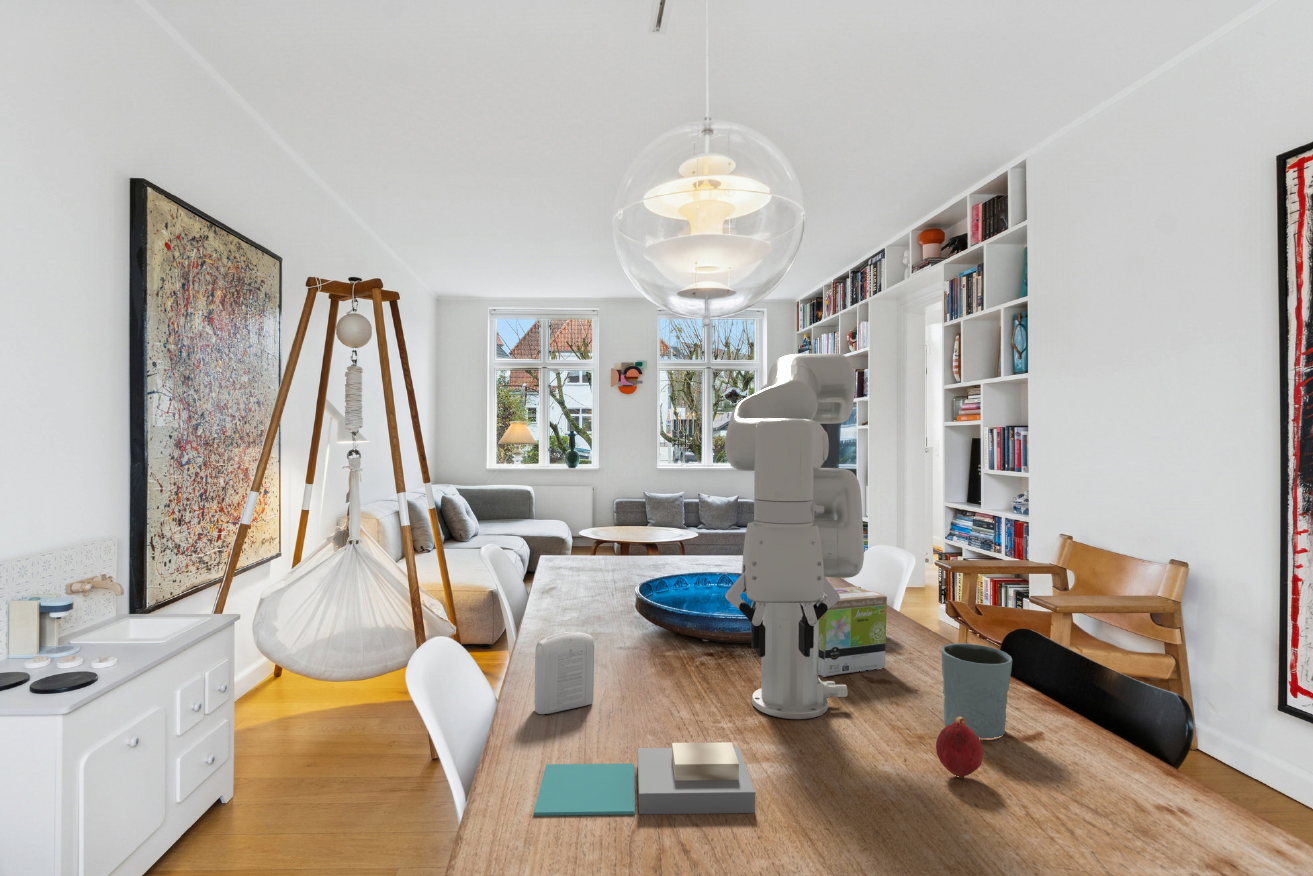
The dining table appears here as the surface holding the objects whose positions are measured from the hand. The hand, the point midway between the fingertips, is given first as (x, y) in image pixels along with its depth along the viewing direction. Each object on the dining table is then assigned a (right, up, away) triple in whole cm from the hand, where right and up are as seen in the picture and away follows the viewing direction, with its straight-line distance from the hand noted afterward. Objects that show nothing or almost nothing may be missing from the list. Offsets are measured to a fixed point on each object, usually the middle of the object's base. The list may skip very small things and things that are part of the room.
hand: (782, 652), depth 88 cm
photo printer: (-32, -17, +26) cm, 44 cm away
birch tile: (-10, -15, 0) cm, 18 cm away
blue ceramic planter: (+34, -18, +18) cm, 42 cm away
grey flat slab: (-12, -17, 0) cm, 21 cm away
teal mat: (-25, -17, -1) cm, 30 cm away
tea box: (+20, -18, +48) cm, 55 cm away
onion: (+24, -18, +3) cm, 30 cm away
